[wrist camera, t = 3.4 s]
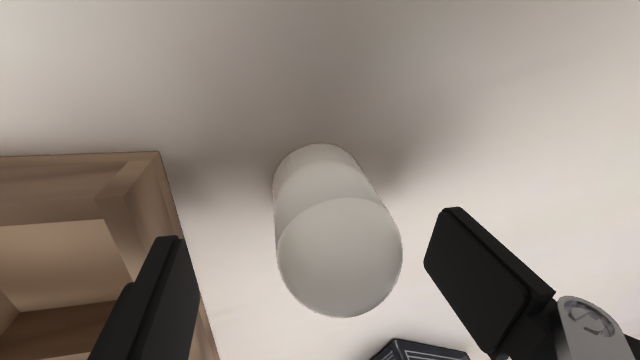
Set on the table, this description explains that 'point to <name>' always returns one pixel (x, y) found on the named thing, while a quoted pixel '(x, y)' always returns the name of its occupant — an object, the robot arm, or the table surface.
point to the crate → (78, 248)
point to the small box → (418, 352)
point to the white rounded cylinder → (333, 233)
